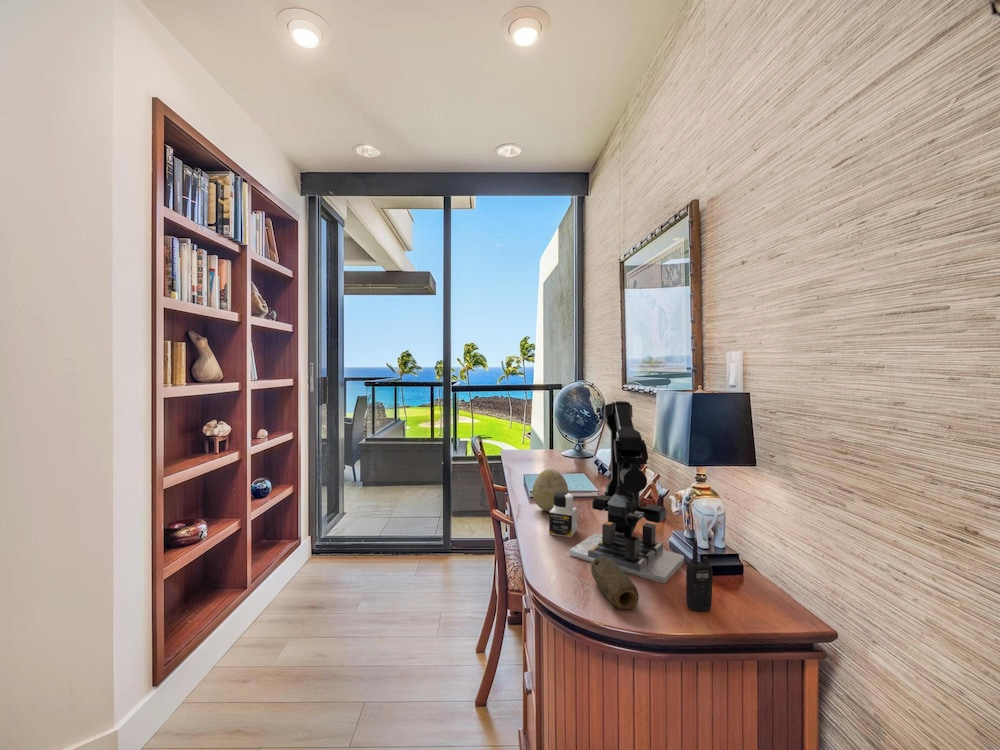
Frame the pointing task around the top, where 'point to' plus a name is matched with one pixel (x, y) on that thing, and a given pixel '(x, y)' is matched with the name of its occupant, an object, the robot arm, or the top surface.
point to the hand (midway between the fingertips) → (627, 539)
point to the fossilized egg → (548, 488)
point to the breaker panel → (649, 571)
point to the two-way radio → (698, 582)
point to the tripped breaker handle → (608, 533)
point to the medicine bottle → (563, 516)
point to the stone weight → (614, 583)
